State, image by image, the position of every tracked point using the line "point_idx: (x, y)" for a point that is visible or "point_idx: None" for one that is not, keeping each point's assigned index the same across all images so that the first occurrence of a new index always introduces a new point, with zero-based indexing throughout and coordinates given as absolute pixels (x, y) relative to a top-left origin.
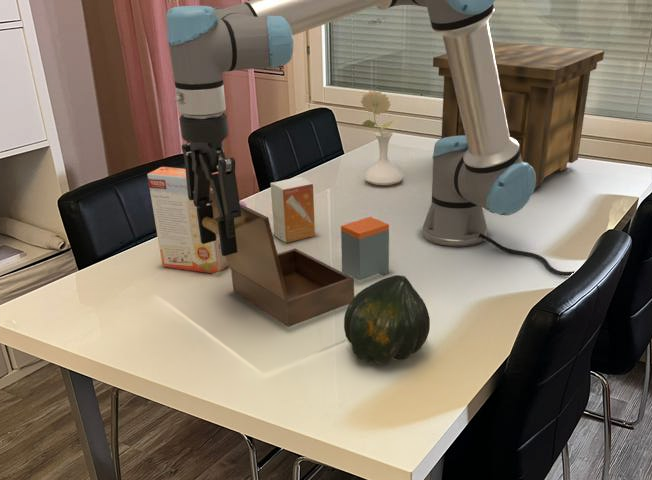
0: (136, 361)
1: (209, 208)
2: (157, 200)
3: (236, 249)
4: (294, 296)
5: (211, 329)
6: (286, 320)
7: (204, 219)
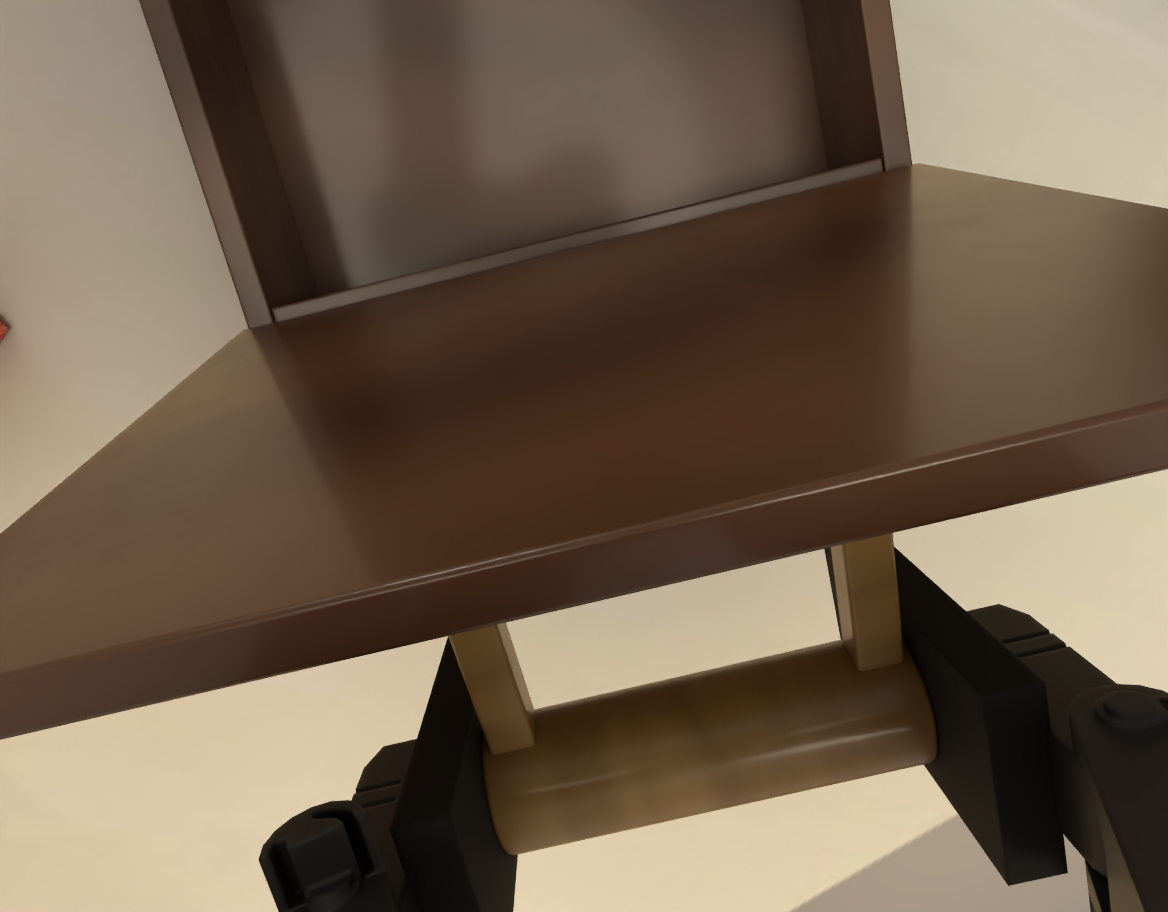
0: (757, 862)
1: (468, 838)
2: None
3: None
4: (527, 11)
5: None
6: None
7: (543, 846)
